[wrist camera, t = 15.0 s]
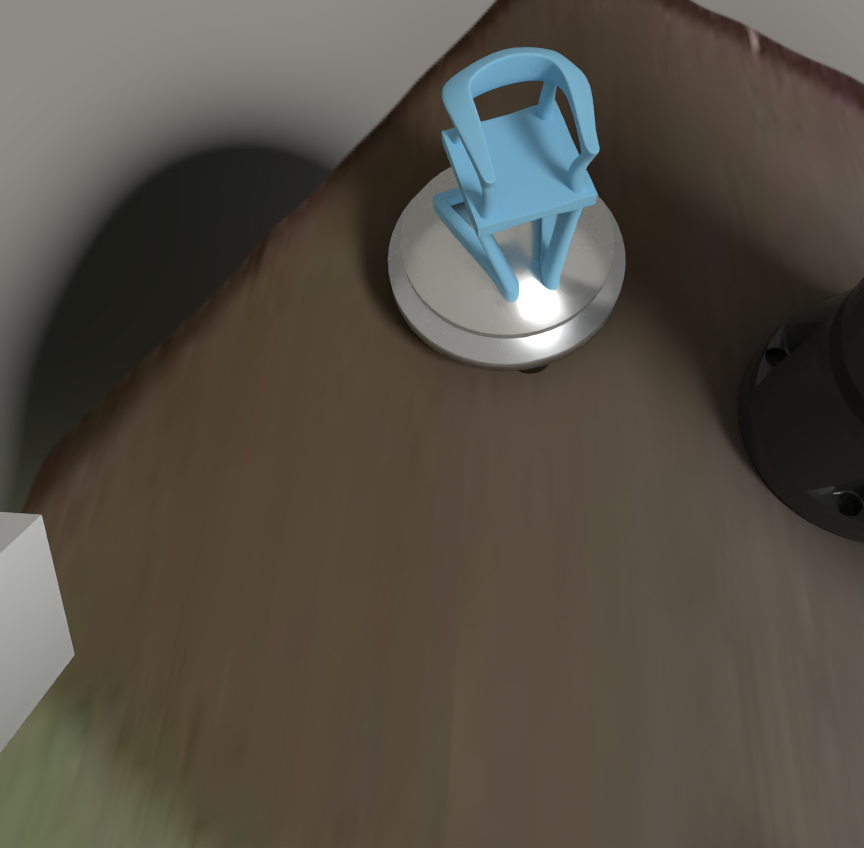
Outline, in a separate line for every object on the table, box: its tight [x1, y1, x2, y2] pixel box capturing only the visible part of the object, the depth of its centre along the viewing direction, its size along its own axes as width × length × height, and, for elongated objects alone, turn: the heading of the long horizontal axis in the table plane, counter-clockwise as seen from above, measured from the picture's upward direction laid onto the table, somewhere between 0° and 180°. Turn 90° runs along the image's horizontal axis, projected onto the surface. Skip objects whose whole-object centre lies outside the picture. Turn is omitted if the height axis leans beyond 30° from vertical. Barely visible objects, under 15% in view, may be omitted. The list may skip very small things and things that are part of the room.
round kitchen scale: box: [388, 167, 626, 373], centre depth 48 cm, size 15×15×5 cm
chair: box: [433, 47, 599, 302], centre depth 40 cm, size 8×8×12 cm
